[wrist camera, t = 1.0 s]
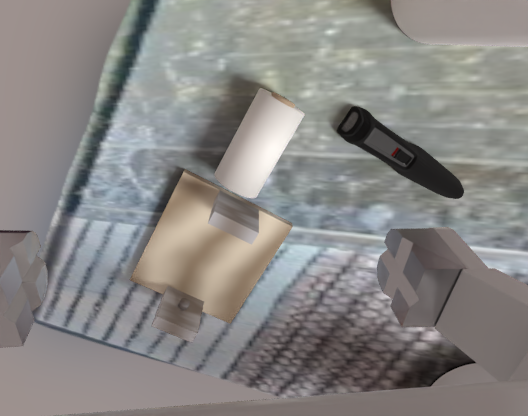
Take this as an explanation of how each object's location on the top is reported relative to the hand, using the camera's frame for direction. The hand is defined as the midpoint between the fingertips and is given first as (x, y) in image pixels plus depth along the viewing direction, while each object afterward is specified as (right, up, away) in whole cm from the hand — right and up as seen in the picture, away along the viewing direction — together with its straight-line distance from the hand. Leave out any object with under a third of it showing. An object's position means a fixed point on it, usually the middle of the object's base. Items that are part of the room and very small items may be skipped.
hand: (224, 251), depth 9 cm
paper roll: (+1, +8, +34) cm, 35 cm away
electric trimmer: (+16, +8, +35) cm, 40 cm away
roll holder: (-6, -4, +39) cm, 40 cm away
